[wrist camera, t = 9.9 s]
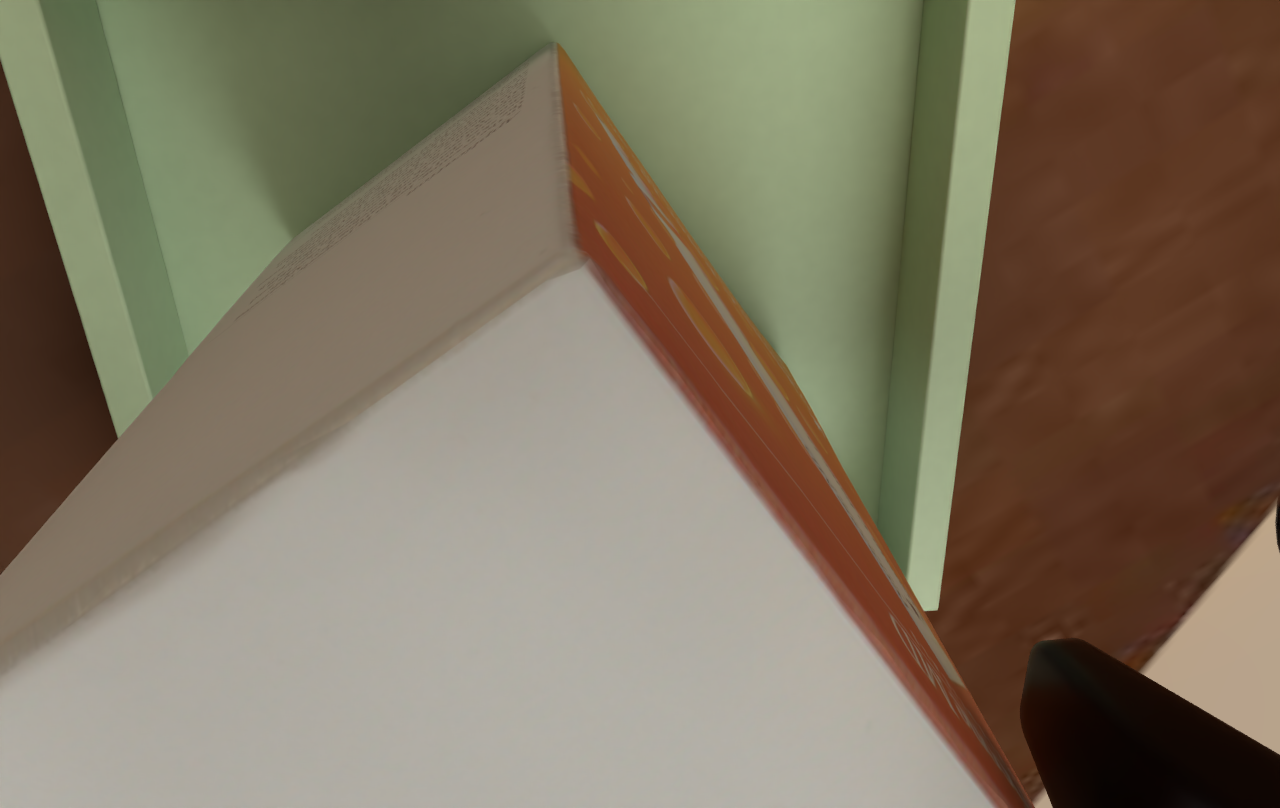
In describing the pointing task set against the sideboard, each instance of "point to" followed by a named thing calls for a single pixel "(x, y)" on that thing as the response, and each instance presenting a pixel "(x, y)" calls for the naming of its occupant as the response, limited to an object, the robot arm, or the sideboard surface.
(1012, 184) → the sideboard surface
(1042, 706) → the robot arm
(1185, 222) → the sideboard surface
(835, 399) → the tray
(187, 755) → the small box
